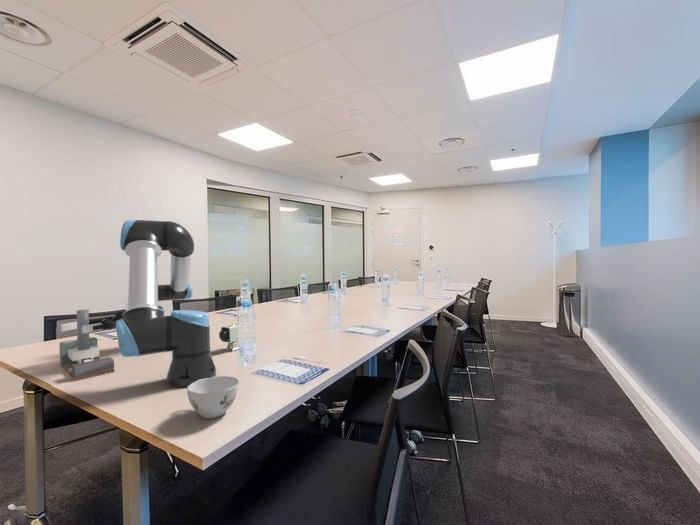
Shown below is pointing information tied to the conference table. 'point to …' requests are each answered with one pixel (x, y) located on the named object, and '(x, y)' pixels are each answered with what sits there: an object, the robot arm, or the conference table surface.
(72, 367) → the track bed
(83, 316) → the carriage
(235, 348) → the pneumatic valve
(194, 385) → the white floral bowl
